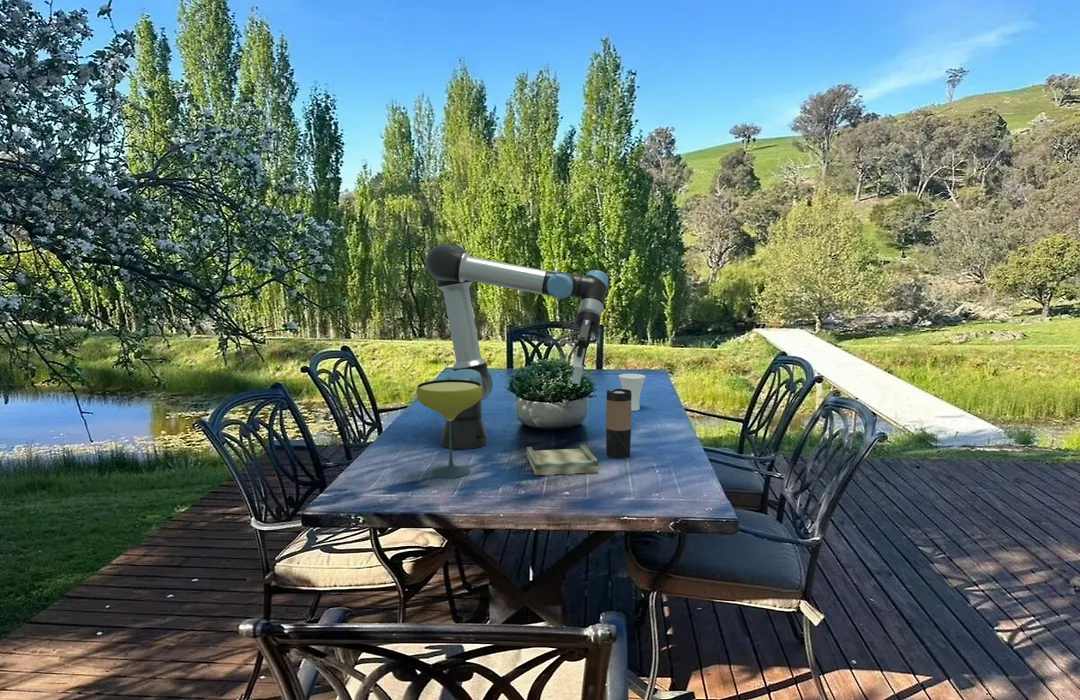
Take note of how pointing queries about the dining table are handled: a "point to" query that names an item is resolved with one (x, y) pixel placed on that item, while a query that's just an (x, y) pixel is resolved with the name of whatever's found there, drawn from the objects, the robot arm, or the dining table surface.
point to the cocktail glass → (449, 410)
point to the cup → (633, 387)
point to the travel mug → (618, 423)
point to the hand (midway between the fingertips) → (576, 375)
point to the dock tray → (562, 461)
